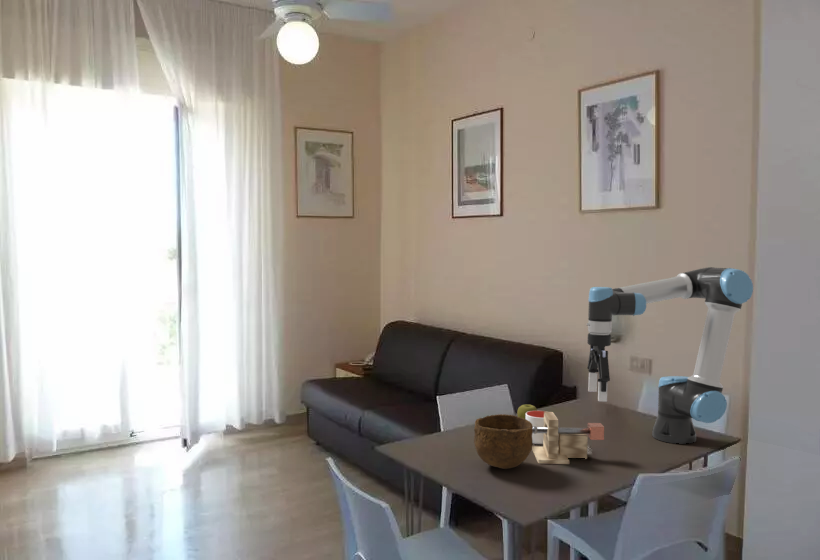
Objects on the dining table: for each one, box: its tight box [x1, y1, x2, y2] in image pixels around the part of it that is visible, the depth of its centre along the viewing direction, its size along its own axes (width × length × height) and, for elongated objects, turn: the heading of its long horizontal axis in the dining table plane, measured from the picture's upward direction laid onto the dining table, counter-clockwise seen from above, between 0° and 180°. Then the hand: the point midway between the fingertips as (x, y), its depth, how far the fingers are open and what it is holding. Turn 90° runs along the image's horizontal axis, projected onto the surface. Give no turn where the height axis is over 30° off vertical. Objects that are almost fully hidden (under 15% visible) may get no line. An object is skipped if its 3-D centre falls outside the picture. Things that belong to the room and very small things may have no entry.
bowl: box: [473, 413, 533, 470], centre depth 207 cm, size 19×19×15 cm
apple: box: [516, 404, 538, 419], centre depth 257 cm, size 8×8×7 cm
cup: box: [525, 410, 547, 445], centre depth 234 cm, size 10×10×10 cm
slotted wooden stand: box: [531, 411, 589, 465], centre depth 217 cm, size 17×14×14 cm
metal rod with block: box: [532, 422, 605, 441], centre depth 217 cm, size 24×4×4 cm, turn 88°
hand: (597, 396), depth 216 cm, fingers open, 13 cm apart
